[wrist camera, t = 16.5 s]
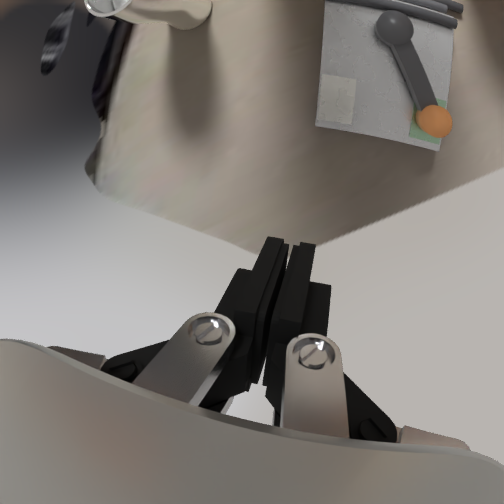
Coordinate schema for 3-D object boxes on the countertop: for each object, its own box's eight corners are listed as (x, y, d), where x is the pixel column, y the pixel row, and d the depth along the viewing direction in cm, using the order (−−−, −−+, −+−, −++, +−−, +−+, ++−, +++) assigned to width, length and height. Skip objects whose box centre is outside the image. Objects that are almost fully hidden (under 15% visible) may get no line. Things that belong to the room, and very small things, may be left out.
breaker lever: (368, 20, 24) (371, 14, 21) (398, 11, 22) (404, 5, 20) (419, 137, 28) (427, 142, 26) (448, 128, 27) (457, 132, 24)
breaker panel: (326, -7, 25) (325, -13, 23) (448, 20, 22) (454, 16, 20) (316, 124, 33) (314, 126, 31) (434, 148, 30) (439, 152, 28)
